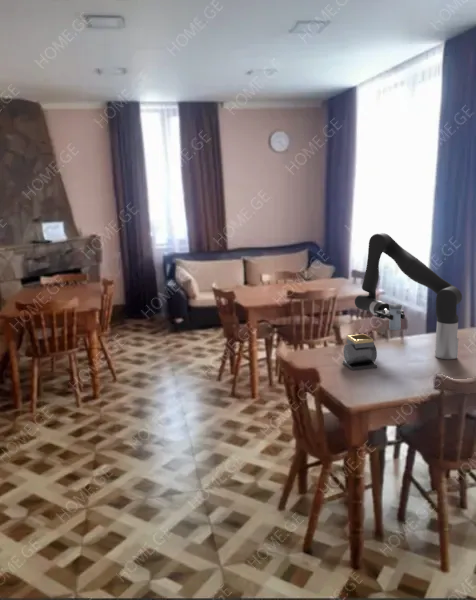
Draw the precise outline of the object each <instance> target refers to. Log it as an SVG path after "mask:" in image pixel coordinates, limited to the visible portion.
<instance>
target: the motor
mask: <svg viewBox="0 0 476 600" xmlns="http://www.w3.org/2000/svg"><path fill="white" fill-rule="evenodd" d="M377 356H378V351H377V347H376V345H375V342H374V338H373V337H371V336H370V335H367V334H366V333H360V334H349V335H347V338H346V343H345V345H344V346H343V358H344V359H343V361H342V364H344V366H346V367H347V368H348V369H350V370H351V371H361V370H369V369H377V368H378V364H377V363H376V362H375V361H376V360H377V359H378V358H377Z"/></svg>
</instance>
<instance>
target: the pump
mask: <svg viewBox="0 0 476 600" xmlns="http://www.w3.org/2000/svg"><path fill="white" fill-rule="evenodd" d="M389 308H390V313H389V314H391V315H393V320H390V319H388V320H389V321H388V329H389V330H392V331H399V330H401V326H402V325H401V324H402V322H401V321H402V319H401V309H402V308H403V305H402V304H398V303H391V304H389Z"/></svg>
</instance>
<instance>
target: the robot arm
mask: <svg viewBox="0 0 476 600" xmlns="http://www.w3.org/2000/svg"><path fill="white" fill-rule="evenodd" d="M367 249H368V250H367V259H366V266H365V267H366V269H365V273H364V276H363V277H364V278H363V280H362V285H361V290H363V291H364V292H366V293H368V295H367V294H365V295H364V294H359V295H357V296H356V297H355V299H354V306H355V307H356V308H357V309H359V310H362V311H367V312H369V313H371V314H373V316H374V317H376V318H379V319H382V320H383V319H388V320H389V319H390V320H393V315H391V314H389V313H390V308H389V305H390V304H389V303H387V302H385V301H382V300H378V299H377V295H376V294H377V292H376V291H377V285H378V283H379V282H378V281H379V277H380V270H379V269H380V260H381V257H382V255H383V254H385V255H387V256H388V257H389V258H391V259H392V260H393V261H394V262H395V264H396V266H398V268H399V270H400V271H401V272H402V273H403V274H404V275H405V276H406V277H408V278H409V279H411V280H412V281H414V282H415V283H417V284H420V285H421V286H424V287H426V288H429V290H431V291H432V292H434V293H435V294H436V297H435V316H436V331H435V335H436V337H435V350H434V352H435V353H434V356H435V357H436V358H438V359H442V360H454V359H458V356H459V355H458V354H459V338H458V332H459V331H458V330H459V316H458V315H457V305H459V304H460V303H461V302H462V300H463V295H462V291H460V289H459V288H457V287H456V286H455V285H453V284H451V283H449V282H448V281H447V280H445V279H443V278H441V276H439V275H438V274H437V273H436V272H434V271H433V270H432V269H431V268H429V267H428V266H427V265H426V264H425V263H423V262H422V261H421V260H419V259H418V257H416V256H414V255H413V254H412V253H410V252H409V251H408V250H406V249H404V248H403V247H402V246H401V245H399V243H397V241H396V240H395V239H394V238H393V237H391V236H390V235H389V234H387V233H383V232H381V233H375V234H373V235H372V236H371V237H370V238H369V241H368V248H367ZM405 317H406V315H405V311H404V310H403V309H402V308H401V320H404V319H405Z"/></svg>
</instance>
